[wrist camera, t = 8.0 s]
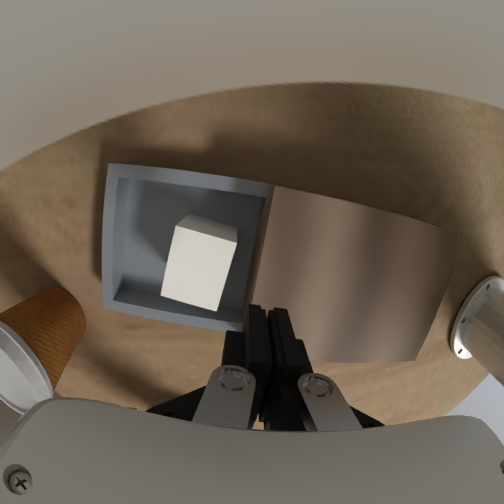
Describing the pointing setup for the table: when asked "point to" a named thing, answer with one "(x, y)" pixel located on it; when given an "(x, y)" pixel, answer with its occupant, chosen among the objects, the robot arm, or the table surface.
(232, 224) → the box
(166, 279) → the white block
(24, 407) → the disposable coffee cup
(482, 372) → the table surface
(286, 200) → the brown wooden box
